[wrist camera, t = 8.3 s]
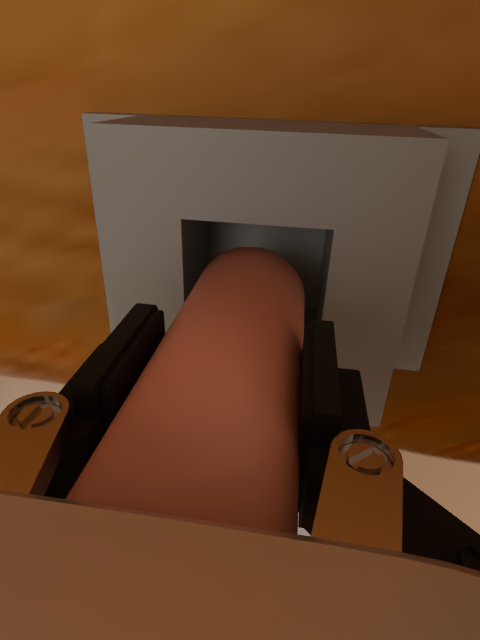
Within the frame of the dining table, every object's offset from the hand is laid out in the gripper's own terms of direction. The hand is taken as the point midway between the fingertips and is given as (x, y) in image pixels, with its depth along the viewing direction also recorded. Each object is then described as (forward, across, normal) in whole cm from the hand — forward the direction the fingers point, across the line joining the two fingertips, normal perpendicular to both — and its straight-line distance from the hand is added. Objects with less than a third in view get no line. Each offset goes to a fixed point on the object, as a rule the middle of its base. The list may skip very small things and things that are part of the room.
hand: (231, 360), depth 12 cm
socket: (+9, 0, 0) cm, 9 cm away
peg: (+4, 0, 0) cm, 4 cm away
